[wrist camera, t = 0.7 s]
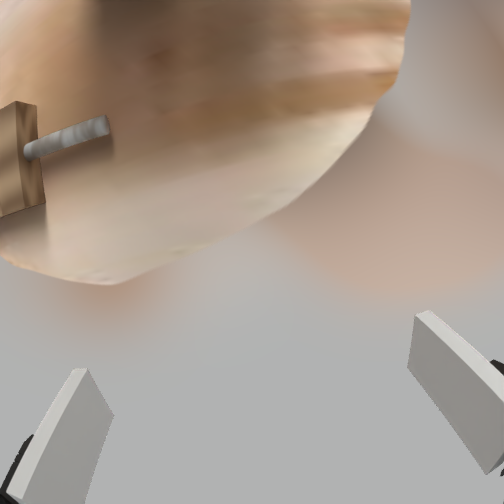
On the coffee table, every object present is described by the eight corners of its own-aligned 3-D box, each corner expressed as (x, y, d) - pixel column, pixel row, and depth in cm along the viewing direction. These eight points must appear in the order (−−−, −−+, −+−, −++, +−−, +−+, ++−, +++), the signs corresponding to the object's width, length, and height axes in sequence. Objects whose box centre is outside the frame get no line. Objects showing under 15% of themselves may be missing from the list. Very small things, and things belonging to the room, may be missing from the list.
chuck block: (-23, 138, 28) (-43, 138, 23) (109, 76, 29) (94, 65, 24) (-13, 222, 32) (-33, 229, 27) (120, 182, 33) (104, 184, 28)
